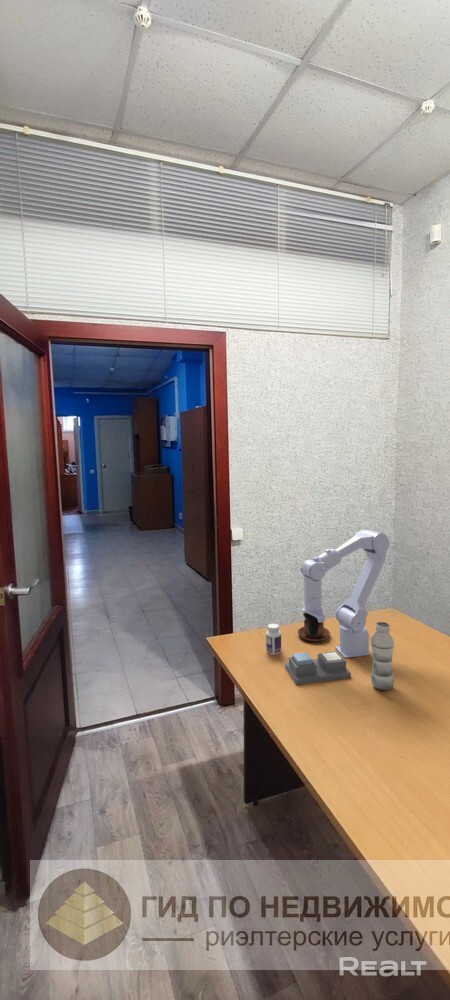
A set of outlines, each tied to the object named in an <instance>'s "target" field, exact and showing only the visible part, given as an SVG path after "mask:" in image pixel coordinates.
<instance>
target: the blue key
mask: <svg viewBox="0 0 450 1000" xmlns="http://www.w3.org/2000/svg"><path fill="white" fill-rule="evenodd" d="M292 657H293V661H294V663H295V664H296V665H297V666H304V665H311V664H312V659H313V658H312V657H311V656H310V654H309V653H308V652H297V653H292Z"/></svg>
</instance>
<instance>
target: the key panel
mask: <svg viewBox="0 0 450 1000" xmlns="http://www.w3.org/2000/svg"><path fill="white" fill-rule="evenodd" d="M332 652H336V653H337V654H338V655H339V657H340V658H341V659H342V661H334V662H326V661H325V659H324V658H323V657H322V654H324V653H325V652H320V653H317V658H312V664H311V665H304V666H297V665H296V664H295V663H294V661H293V656H289V657H288V662H285V664H284V665H285V666H284V667H285V669H286V670H287V672H288V674H289V676H290V677H291V678H292V680H293V682H294V684H295V685H296V686H297V685H298V686H299V685H305V684H311V683H318V682H326V681H327V682H328V681H334V680H342V679H348V678H349V679H350V678H351V675H352V673H351V671H350V670H349V669H348V668H347V660H346V659H345V657H344V656H343V655H342V654H341V653H340V652H339V651H338V650H336V651H327V652H326V653H332Z"/></svg>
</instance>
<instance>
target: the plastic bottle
mask: <svg viewBox="0 0 450 1000" xmlns="http://www.w3.org/2000/svg"><path fill="white" fill-rule="evenodd" d="M375 625H376V627H375V630H376V631H375V632H374V633H373V635H372V636H371V639H370V644H371V650H372V651H371V652H372V667H371V668H372V669H371V672H370V682H371V684H372V686H373V687H374V688H375V689H377V690H380V691H389V690H391V689H392V688H393V687H394V684H395V677H394V671H393V655H394V654H393V653H394V648H395V640H394V637H392V635H391V633H390V632H391V629H390V627H391V626H390V624H389V623H388V622H385V621H379V622H377V623H376V624H375Z"/></svg>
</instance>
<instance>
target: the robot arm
mask: <svg viewBox="0 0 450 1000" xmlns="http://www.w3.org/2000/svg"><path fill="white" fill-rule="evenodd" d="M390 545H391V542H390V540H389V537H388V536H387V534H386V533H383V532H378V531H374V530H371V529H369V528H362V529H361V530H360V531H356V532H355V535H354V536H353V537H351V538H350V539H349V540H347V541H345V542H344V543H342V544H341V545H340V546H338V548H336V549H334V548H330V549H329V548H327V549H325V550H324V552H322V553H321V554H319V555H317V556H315V557H313V559H307V560H305V561H304V562H303V563H302V565H301V567H300V572H301V574H302V575H303V586H304V587H303V593H304V594H303V595H304V596H303V598H304V599H303V600H302V601H301V603H302V605H301V606H302V608H300V611H301V612H302V615H303V617H304V620H305V619H306V622H307V625H308V630H309V633H310V635H311V636H312V635H317V632H318V628H319V625H320V623H321V622H324V623H325V622H326V619H325V618H326V616H325V614H324V611H323V606H322V605H323V603H322V601H323V600H322V599H323V598H322V591H323V590H322V587H323V586H322V583H323V582H322V579H323V578H324V577H325V576H326V573H327V572H328V571H330V570H331V569H333V568H335V567H337V565H340V564H341V561H342V559H343V558H344V557H346V556H348V555H350V554H352V553H354V552H356V551H358V550H359V549H363V551H364V553H365V554H366V557H367V560H366V561H365V563H364V566H363V569H362V571H361V573H360V574H359V577H358V580H357V582H356V584H355V586H354V589H353V590H352V593H351V595H350V597H349V598H348V599H345V600H343V602H342V604H341V605H340V606H339V607H338V608H337V610H336V612H335V618H336V620H337V621H338V625H339V645H338V646H337V645H336V646H335V649H336V651H337V652H338V653H339V654H340V655H341V656H342V657H343V658H344V659H345V658H346V659H348V658H356V657H363V656H364V657H365V656H370V655H371V652H370V635H369V631H368V629H367V627H366V624H367V617H368V615H369V613H368V609H367V608H366V604H367V602H368V599H369V597H370V595H371V593H372V591H373V588H374V587H375V584H376V582H377V579H378V577H379V575H380V573H381V571H382V569H383V566H384V564H385V561H386V557H387V552H388V550H389V548H390Z"/></svg>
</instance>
